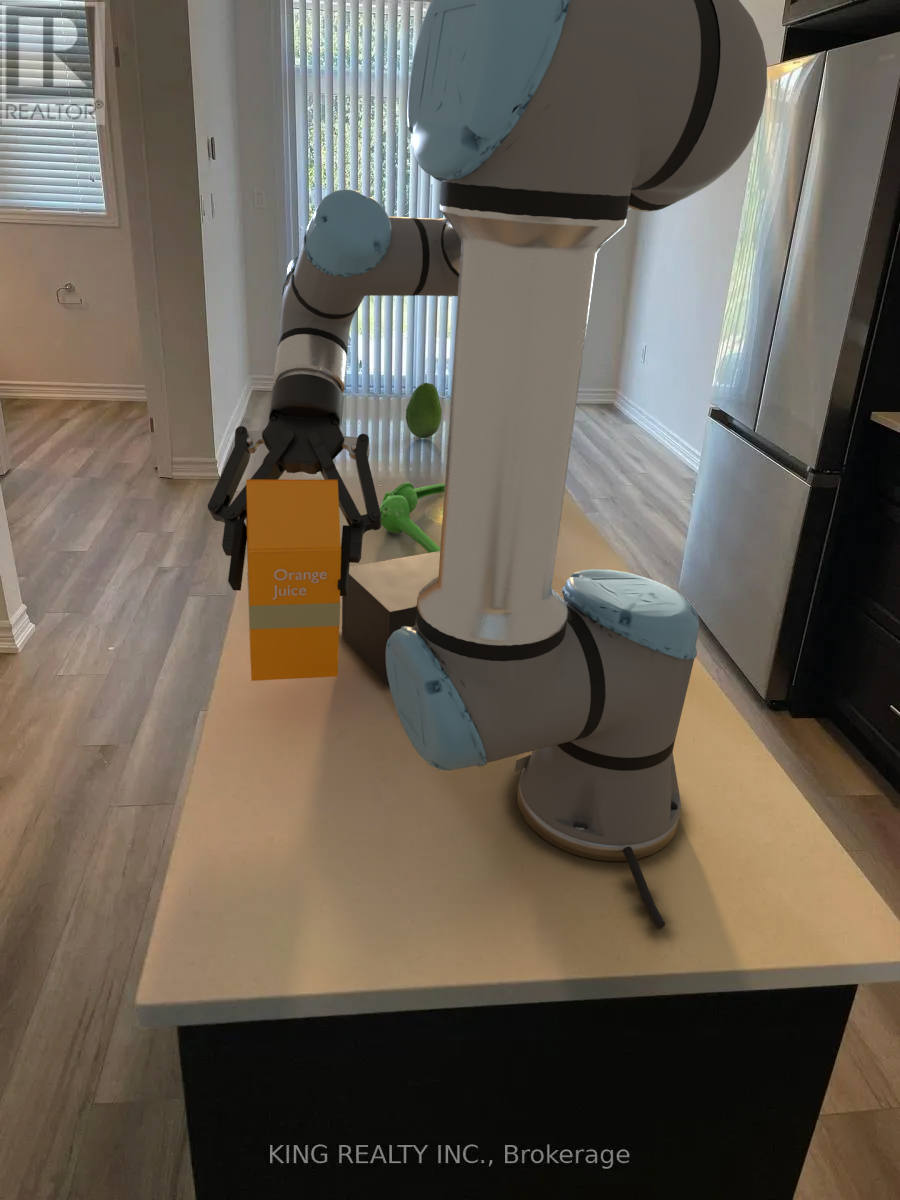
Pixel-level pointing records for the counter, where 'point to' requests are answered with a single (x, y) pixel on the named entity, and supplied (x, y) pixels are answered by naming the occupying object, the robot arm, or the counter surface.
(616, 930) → the counter surface
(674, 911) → the counter surface
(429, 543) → the lime squeezer
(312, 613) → the orange juice
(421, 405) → the avocado
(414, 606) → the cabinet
